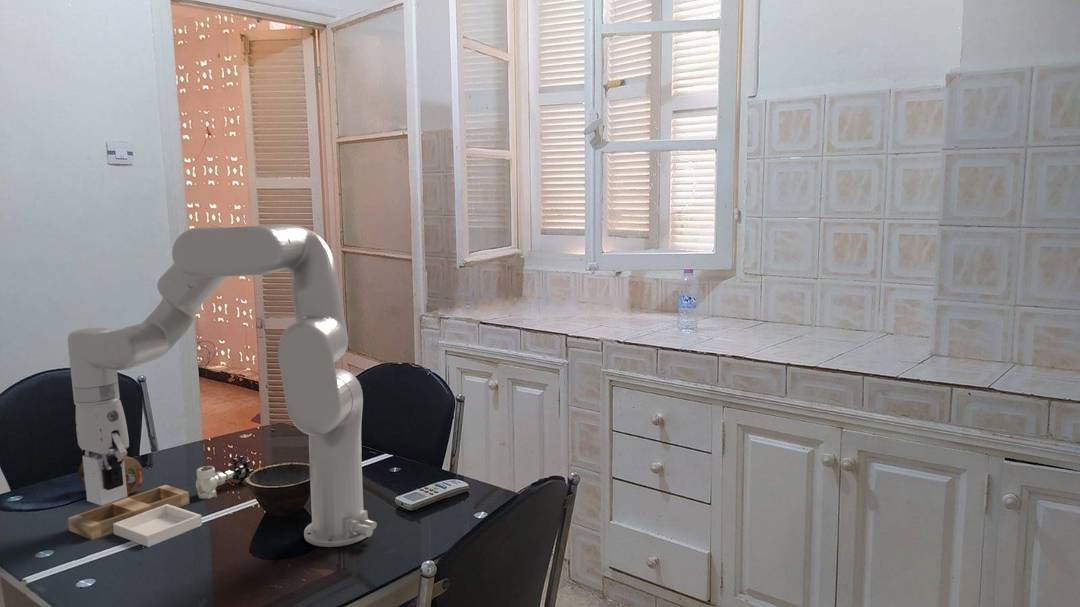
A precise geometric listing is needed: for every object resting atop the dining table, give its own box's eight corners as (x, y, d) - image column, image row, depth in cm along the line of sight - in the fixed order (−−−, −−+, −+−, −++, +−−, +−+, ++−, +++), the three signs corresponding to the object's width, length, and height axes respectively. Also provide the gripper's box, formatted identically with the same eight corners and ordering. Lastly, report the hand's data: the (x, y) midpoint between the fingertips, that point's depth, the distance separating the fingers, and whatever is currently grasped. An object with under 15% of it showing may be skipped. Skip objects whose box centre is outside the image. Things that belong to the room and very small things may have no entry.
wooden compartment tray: (189, 505, 158) (188, 491, 157) (92, 542, 141) (90, 526, 140) (166, 498, 162) (165, 484, 161) (69, 532, 145) (67, 517, 144)
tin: (78, 492, 165) (75, 455, 164) (90, 487, 168) (87, 451, 167) (136, 498, 162) (134, 460, 161) (147, 493, 165) (144, 456, 164)
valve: (210, 504, 159) (254, 485, 169) (208, 474, 158) (252, 457, 169) (188, 499, 162) (233, 480, 172) (186, 469, 161) (231, 452, 171)
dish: (202, 527, 147) (201, 515, 147) (148, 549, 138) (147, 536, 137) (168, 515, 153) (167, 503, 152) (113, 536, 143) (112, 523, 143)
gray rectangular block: (127, 496, 147) (123, 452, 146) (101, 505, 143) (96, 459, 142) (112, 492, 150) (108, 448, 149) (87, 500, 145) (82, 455, 144)
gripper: (141, 393, 142) (150, 486, 145) (91, 384, 151) (100, 472, 153) (101, 402, 136) (111, 499, 138) (52, 393, 145) (62, 484, 147)
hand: (105, 484), depth 146 cm, fingers closed on gray rectangular block, 5 cm apart
